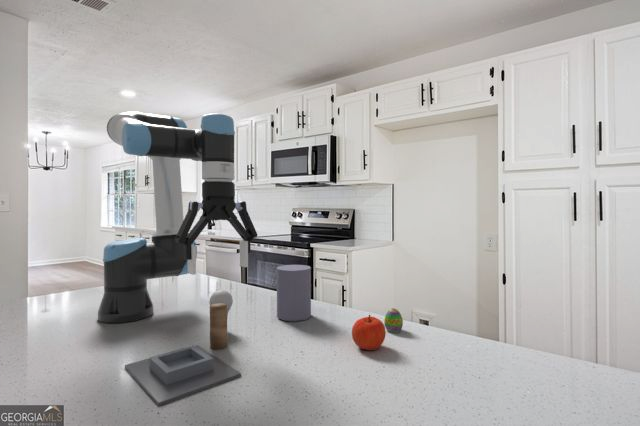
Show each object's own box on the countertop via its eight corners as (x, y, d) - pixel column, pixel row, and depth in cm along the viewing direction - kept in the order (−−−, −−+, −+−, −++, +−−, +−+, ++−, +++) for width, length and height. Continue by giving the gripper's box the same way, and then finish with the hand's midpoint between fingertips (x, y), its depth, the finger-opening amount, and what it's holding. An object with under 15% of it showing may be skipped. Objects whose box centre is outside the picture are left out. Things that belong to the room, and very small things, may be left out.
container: (270, 319, 110) (270, 269, 110) (286, 310, 120) (286, 263, 119) (302, 323, 106) (302, 271, 106) (316, 313, 116) (316, 265, 115)
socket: (124, 367, 78) (124, 354, 78) (197, 347, 89) (197, 335, 89) (158, 406, 63) (158, 389, 63) (241, 376, 74) (241, 361, 74)
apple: (388, 343, 91) (388, 311, 91) (382, 356, 84) (382, 321, 83) (356, 339, 94) (356, 308, 94) (348, 351, 86) (348, 317, 86)
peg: (207, 346, 90) (206, 305, 89) (222, 342, 92) (221, 302, 92) (215, 351, 87) (214, 308, 86) (230, 346, 89) (230, 305, 89)
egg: (406, 330, 101) (406, 308, 100) (396, 335, 97) (396, 312, 97) (390, 326, 104) (390, 305, 104) (380, 330, 100) (380, 308, 100)
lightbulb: (226, 335, 97) (226, 293, 97) (205, 333, 98) (205, 292, 98) (236, 327, 103) (236, 288, 103) (216, 325, 104) (215, 287, 104)
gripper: (172, 178, 77) (173, 279, 78) (270, 182, 94) (271, 265, 95) (158, 179, 82) (160, 274, 83) (254, 183, 99) (254, 262, 100)
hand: (219, 270), depth 89 cm, fingers open, 13 cm apart
